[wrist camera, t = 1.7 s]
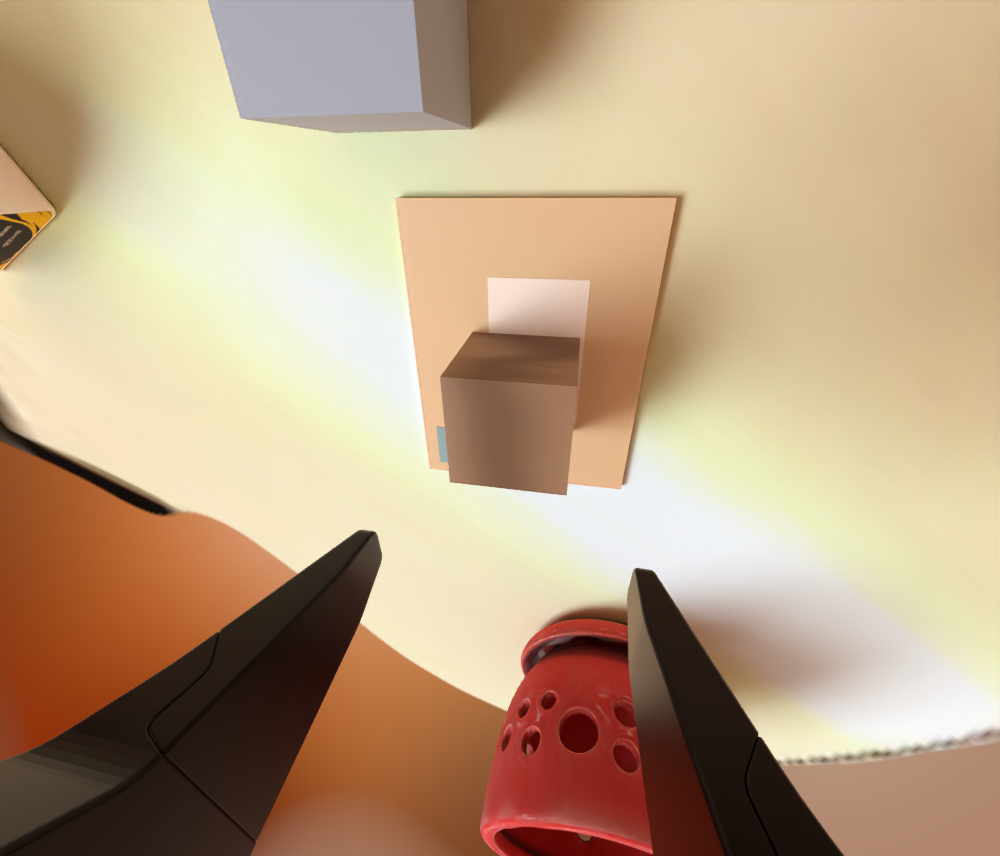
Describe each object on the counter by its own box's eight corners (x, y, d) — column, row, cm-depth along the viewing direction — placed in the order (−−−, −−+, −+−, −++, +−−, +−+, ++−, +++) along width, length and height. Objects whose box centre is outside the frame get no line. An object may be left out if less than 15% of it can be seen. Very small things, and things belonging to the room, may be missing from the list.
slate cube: (464, -93, 13) (392, -244, 8) (472, 129, 15) (422, 111, 11) (301, -74, 13) (152, -201, 9) (338, 133, 16) (240, 118, 12)
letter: (675, 197, 15) (677, 198, 15) (620, 485, 23) (620, 489, 22) (398, 197, 17) (395, 198, 17) (431, 465, 24) (429, 468, 24)
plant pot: (518, 585, 29) (481, 802, 19) (711, 623, 27) (781, 882, 17) (505, 678, 36) (474, 872, 26) (659, 713, 34) (687, 933, 25)
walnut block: (580, 337, 18) (577, 386, 14) (570, 431, 21) (566, 495, 17) (472, 332, 19) (440, 377, 15) (476, 422, 22) (450, 482, 18)
